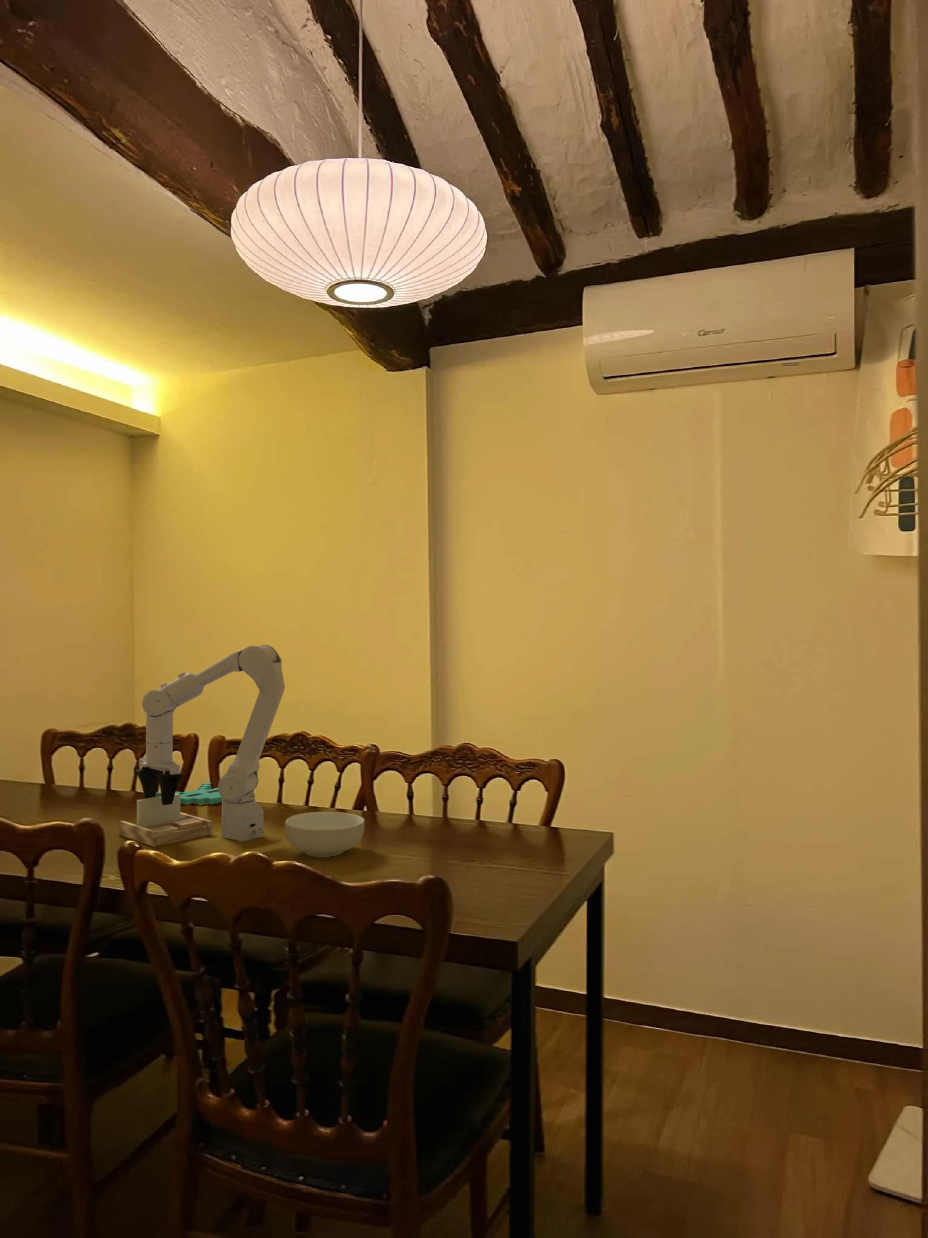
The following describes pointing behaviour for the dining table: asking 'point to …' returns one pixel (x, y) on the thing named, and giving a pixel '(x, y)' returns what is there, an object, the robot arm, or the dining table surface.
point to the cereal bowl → (324, 832)
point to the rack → (154, 840)
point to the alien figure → (200, 795)
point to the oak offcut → (187, 824)
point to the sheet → (157, 811)
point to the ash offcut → (164, 829)
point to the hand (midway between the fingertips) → (158, 802)
